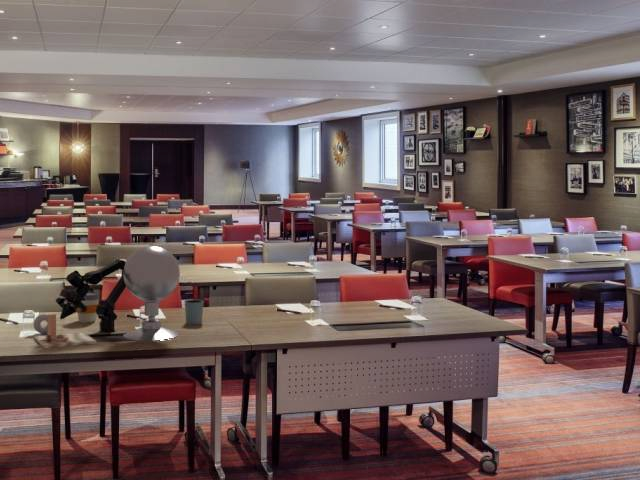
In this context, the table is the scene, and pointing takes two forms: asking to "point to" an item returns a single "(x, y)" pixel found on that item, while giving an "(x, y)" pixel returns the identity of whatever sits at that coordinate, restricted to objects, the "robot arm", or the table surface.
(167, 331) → the desk lamp
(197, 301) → the grey-green tapered cup
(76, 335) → the board
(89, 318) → the reusable coffee cup
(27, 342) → the table surface
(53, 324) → the pink l-shaped piece
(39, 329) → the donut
